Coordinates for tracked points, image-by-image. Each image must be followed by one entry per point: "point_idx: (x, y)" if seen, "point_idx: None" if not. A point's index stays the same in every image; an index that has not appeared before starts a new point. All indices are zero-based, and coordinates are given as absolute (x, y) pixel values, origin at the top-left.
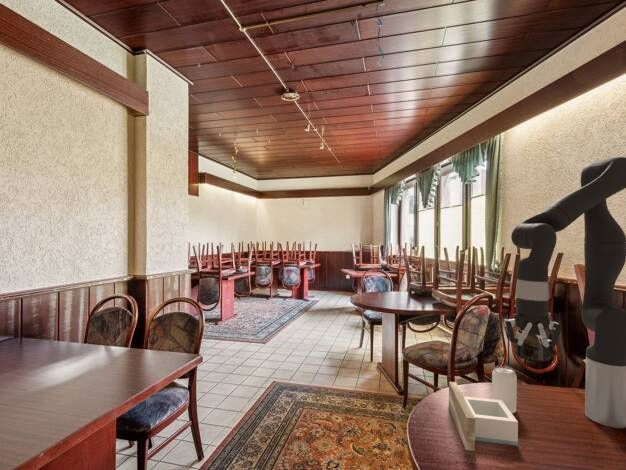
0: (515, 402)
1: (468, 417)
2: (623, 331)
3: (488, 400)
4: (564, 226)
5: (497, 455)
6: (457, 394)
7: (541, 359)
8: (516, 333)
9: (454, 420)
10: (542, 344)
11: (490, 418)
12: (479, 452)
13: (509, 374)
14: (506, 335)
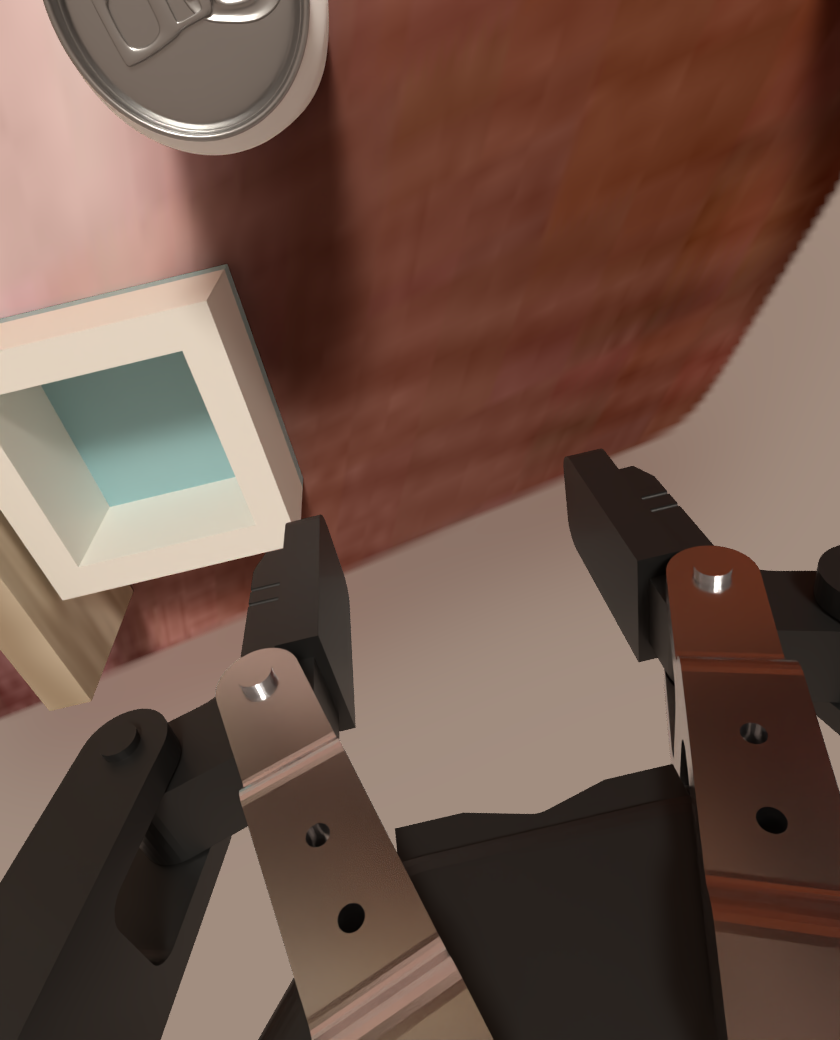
0: (318, 85)
1: (58, 707)
2: None
3: (115, 353)
4: None
5: (221, 577)
6: None
7: (569, 508)
8: (246, 797)
9: None
10: (663, 650)
11: (161, 572)
12: (152, 589)
13: (242, 126)
14: (54, 805)
